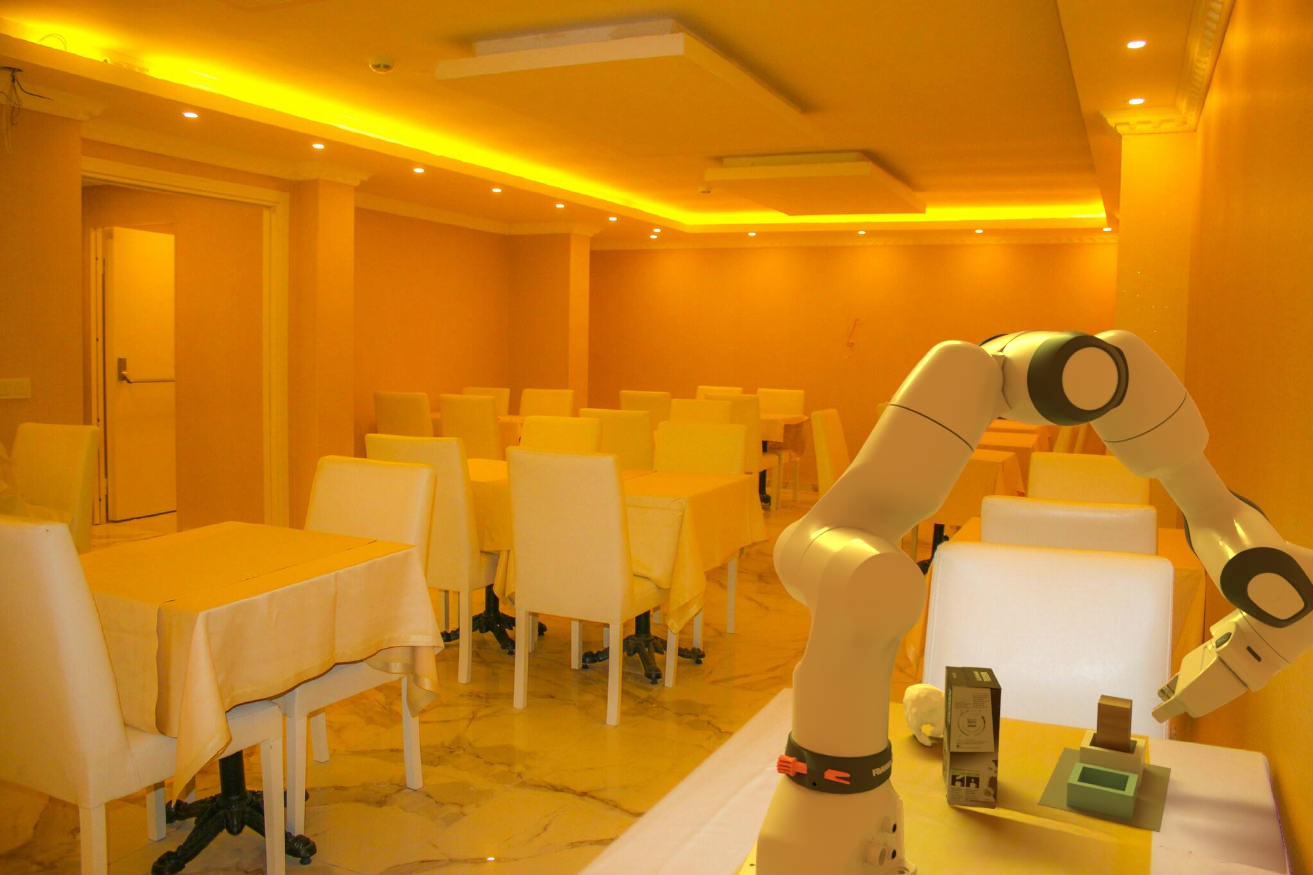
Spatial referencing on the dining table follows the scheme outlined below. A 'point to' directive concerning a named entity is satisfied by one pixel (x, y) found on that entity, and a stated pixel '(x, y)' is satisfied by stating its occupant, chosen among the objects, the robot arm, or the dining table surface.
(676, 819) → the dining table surface
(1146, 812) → the caddy
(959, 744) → the coffee box
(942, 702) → the white lumpy rounded piece
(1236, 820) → the dining table surface
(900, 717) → the dining table surface
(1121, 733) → the plug
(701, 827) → the dining table surface
